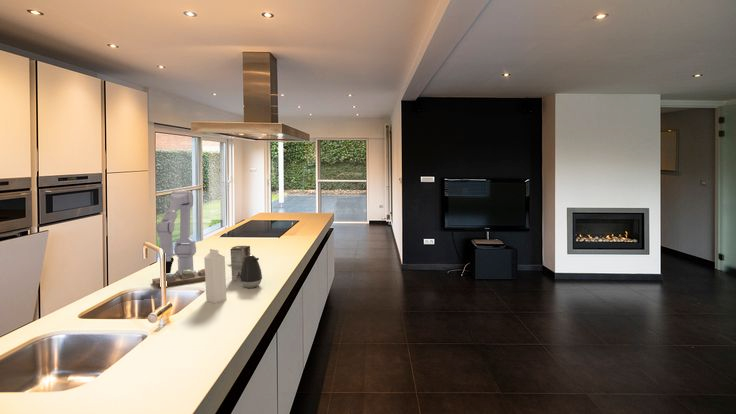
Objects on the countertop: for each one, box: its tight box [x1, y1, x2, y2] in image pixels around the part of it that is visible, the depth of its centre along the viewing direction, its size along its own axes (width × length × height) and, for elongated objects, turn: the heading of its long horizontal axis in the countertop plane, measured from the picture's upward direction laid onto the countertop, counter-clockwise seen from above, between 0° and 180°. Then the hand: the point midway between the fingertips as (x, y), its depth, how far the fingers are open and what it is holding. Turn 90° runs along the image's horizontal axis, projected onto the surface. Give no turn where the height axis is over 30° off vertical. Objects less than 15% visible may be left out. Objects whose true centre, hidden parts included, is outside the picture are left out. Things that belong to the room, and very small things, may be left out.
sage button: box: [183, 270, 192, 275], centre depth 221 cm, size 4×4×2 cm
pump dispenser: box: [240, 254, 263, 289], centre depth 208 cm, size 10×10×15 cm
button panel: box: [151, 269, 205, 289], centre depth 221 cm, size 12×30×4 cm, turn 127°
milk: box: [203, 248, 227, 304], centre depth 187 cm, size 6×6×22 cm
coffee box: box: [230, 245, 251, 282], centre depth 224 cm, size 9×6×16 cm
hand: (167, 273), depth 216 cm, fingers closed
